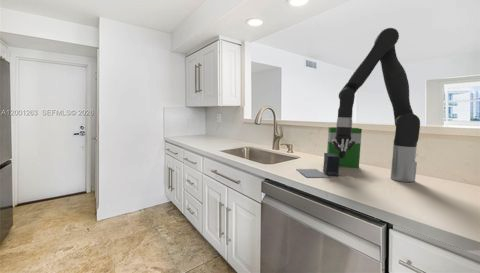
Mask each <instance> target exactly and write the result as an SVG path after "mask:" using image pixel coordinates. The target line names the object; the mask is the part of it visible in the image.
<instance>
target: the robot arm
mask: <svg viewBox="0 0 480 273" xmlns="http://www.w3.org/2000/svg"><path fill="white" fill-rule="evenodd" d="M399 38H400V33H399V31H398V30H397V29H396V28H393V27H387V28H385V29H384V28H383V29H382V30H381V31H380V32H379V33H378V34H377V36H376V38H374V39H375V40H374V43H373V46H372V48H371V49H370V50H369V52H368V54H367V55H366V56H365V58H364V59H363V60H362V62H360V64H359V65H358V67H357V68H356V69H355V71H354V72H353V74H352V75H351V76H350V78H349V80H348V81H347V83H345V85H344V86H343V88H342V89H341V90H340V91H339V93H338V98H339V99H338V100H339V107H338V110H337V119H336V126H335V127H336V137H335V139H334V140H332V141H331V143H332V144H333V146H334V147H335V148H336V149H337V150H339V157H340V158H344V157H345V152H346V151H347V150H349V149H350V148H351V147H352V146H353V145H354V144H355V141H353V140H352V138H351V132H352V128H353V108H354V104H355V103H354V102H355V97H356V93H357V91H358V90H359V89H360V88H362V86H363V85H364V83H365V82H366V81H367V79H368V78H369V76H370V75H371V74H372V72H373V71H374V69H375V68H376V66H377V65H378V63H380V67H381V71H382V76H383V81H384V85H385V86H384V87H385V89H386V92H387V95H388V99H389V101H390V103H391V106H392V110H393V117H394V126H395V134H394V139H393V146H392V158H391V169H390V179H391V180H394V181H397V182H401V183H402V182H403V183H412V182H416V176H417V175H416V174H417V168H418V167H417V164H418V163H417V161H416V156H417V155H416V154H417V146H418V142H419V138H420V129H421V121H420V118H419V116H418V115H417V114H415V113H414V111H413V109H412V105H411V102H410V101H411V100H410V84H409V80H408V76H407V73H406V70H405V68H404V67H403V64H401V62H400V61H399V59H398V56H397V52H396V44H397V42H398V40H399ZM337 143H338V145H337ZM348 143H349V144H348Z"/></svg>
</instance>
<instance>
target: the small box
mask: <svg viewBox="0 0 480 273" xmlns="http://www.w3.org/2000/svg"><path fill="white" fill-rule="evenodd" d="M323 157H324V158H323V166H322V167H323V169H322V172H323V173H324V174H326V175H327V176H329V177H330V176H332V177H339V168H340V167H339V159H340V157H339V156H338V155H336V154H332V153H327V152H324V155H323Z"/></svg>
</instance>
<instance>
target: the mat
mask: <svg viewBox="0 0 480 273" xmlns="http://www.w3.org/2000/svg"><path fill="white" fill-rule="evenodd" d="M296 171H297V172H298V173H300V174H301V175H302V176H304V177H305V178H307V179H309V178H310V179H311V178H313V179H315V178H318V179H319V178H321V179H323V178H325V179H326V178H331V177H330V175H326V174H325V173H324V172H323V171H320V169H317V168H296Z"/></svg>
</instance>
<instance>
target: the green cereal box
mask: <svg viewBox="0 0 480 273" xmlns="http://www.w3.org/2000/svg"><path fill="white" fill-rule="evenodd" d="M336 127H337V126H334V127H333V126H329V127H328V133H327V148H326V151H327V152H326V153H332V154H336V155H338V156H339V150H337V149H336V148H335V147H334V146H333V144H332V143H331V141H332V140H334V139H335V137H336ZM362 131H363V129H362V128H360V127H352V132H351V138H352V140H353V141H355V144H354V145H353V146H352V147H351V148H350V149H349V150H347V151H346V152H345V157H344V158H340V159H339V168H341V167H342V168H356V169H357V168H358V169H359V168H360V161H361V160H360V157H361V144H362ZM348 144H349V143H348ZM337 145H338V143H337Z"/></svg>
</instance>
